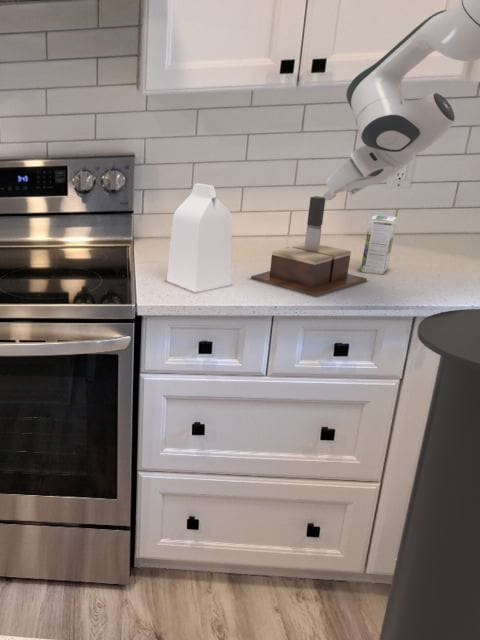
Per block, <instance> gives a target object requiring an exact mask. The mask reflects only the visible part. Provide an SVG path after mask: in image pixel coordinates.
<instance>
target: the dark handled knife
mask: <svg viewBox="0 0 480 640" xmlns="http://www.w3.org/2000/svg"><path fill="white" fill-rule="evenodd" d="M325 206H326V199H325V198H324V196H318V195H313V196H310V199H309V206H308V215H307V221H306V222H307V223H306V225H307V226H306V232H305V239H304V243H305V247H304V250H305V251H310V252H314V253H318V252H319V245H321V244H320V243H321V236H322V226H323V221H324V214H325Z"/></svg>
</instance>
